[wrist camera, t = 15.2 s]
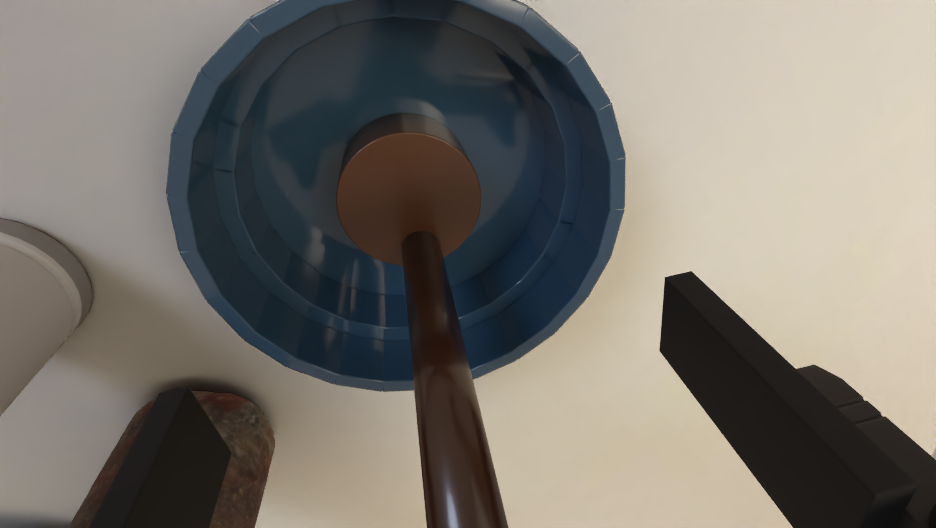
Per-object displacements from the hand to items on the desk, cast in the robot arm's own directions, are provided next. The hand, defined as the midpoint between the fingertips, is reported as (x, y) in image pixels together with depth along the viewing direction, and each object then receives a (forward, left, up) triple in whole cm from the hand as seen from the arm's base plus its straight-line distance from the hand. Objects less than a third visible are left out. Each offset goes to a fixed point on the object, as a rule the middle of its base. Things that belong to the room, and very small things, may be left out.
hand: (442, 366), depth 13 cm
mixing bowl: (-2, 0, -11) cm, 11 cm away
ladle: (-2, 0, -10) cm, 10 cm away
